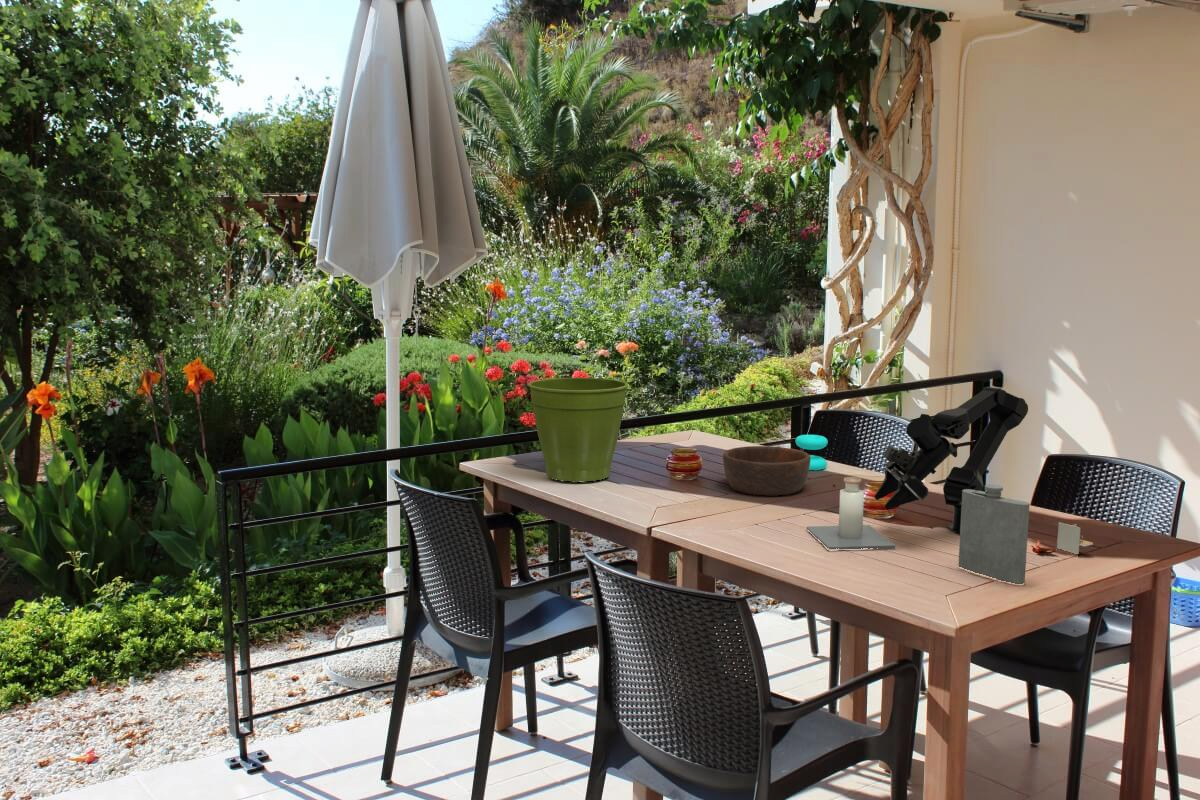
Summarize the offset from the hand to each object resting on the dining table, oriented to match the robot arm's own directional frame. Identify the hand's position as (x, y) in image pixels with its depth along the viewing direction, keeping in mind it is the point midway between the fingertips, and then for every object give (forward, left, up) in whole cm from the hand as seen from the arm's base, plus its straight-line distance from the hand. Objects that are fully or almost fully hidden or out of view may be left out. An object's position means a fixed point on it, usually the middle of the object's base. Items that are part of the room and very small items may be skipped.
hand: (880, 503), depth 259 cm
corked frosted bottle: (0, +7, -8) cm, 11 cm away
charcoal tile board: (0, +7, -9) cm, 11 cm away
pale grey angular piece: (-15, -40, -10) cm, 44 cm away
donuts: (+80, -7, -9) cm, 81 cm away
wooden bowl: (+54, +14, -9) cm, 57 cm away
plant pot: (+74, +67, -9) cm, 100 cm away
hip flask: (-30, -14, -9) cm, 34 cm away
